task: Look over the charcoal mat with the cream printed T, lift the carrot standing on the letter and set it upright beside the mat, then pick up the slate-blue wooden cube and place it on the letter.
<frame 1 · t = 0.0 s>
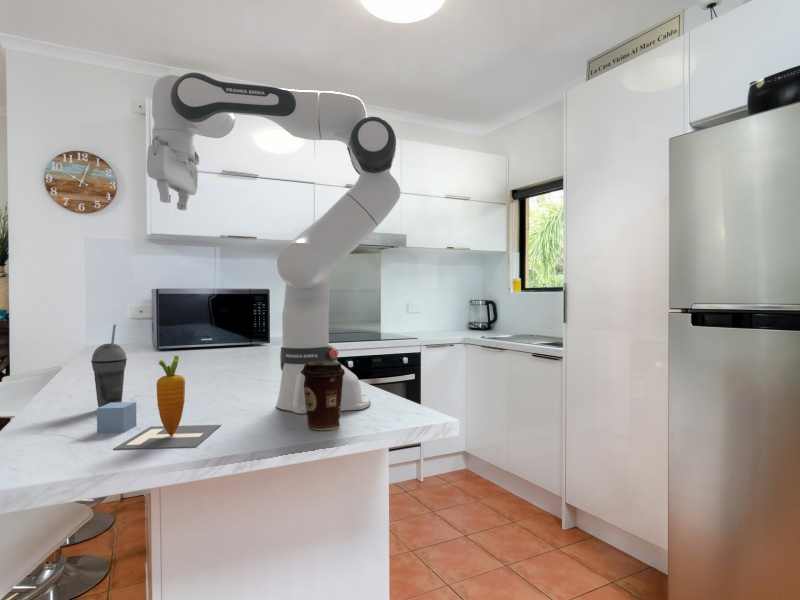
hand: (174, 206, 112), 48 cm above the table, tool pointing down, fingers open, 8 cm apart
letter mat: (171, 436, 89), on the table
coffee cup: (323, 427, 95), on the table
beverage cup: (109, 410, 111), on the table
slate cube: (117, 430, 94), on the table
carrot: (171, 436, 89), resting on letter mat
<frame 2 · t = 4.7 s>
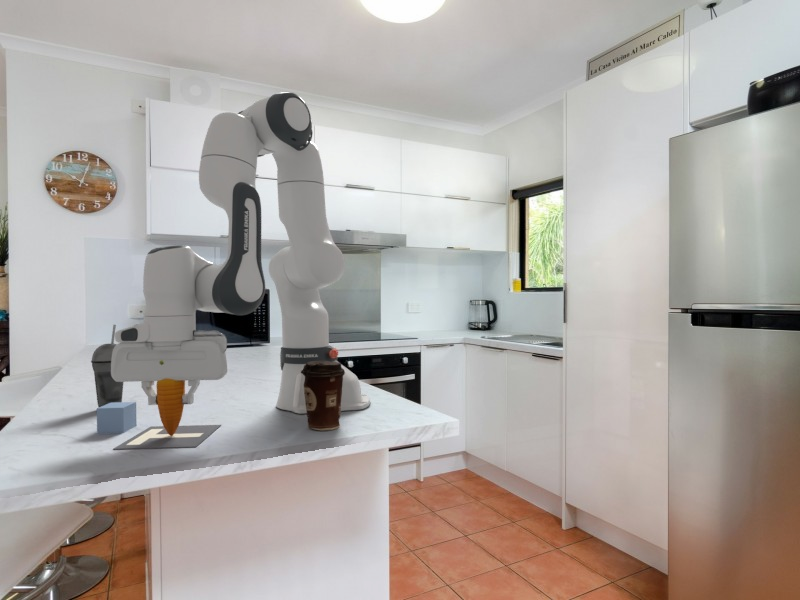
hand: (171, 404, 89), 6 cm above the table, tool pointing down, fingers closed on carrot, 5 cm apart
carrot: (171, 436, 89), resting on letter mat, touching gripper
everything else where it was.
when the fingers open (8 cm above the table, at t = 11.3 s): carrot drops 1 cm, on the table.
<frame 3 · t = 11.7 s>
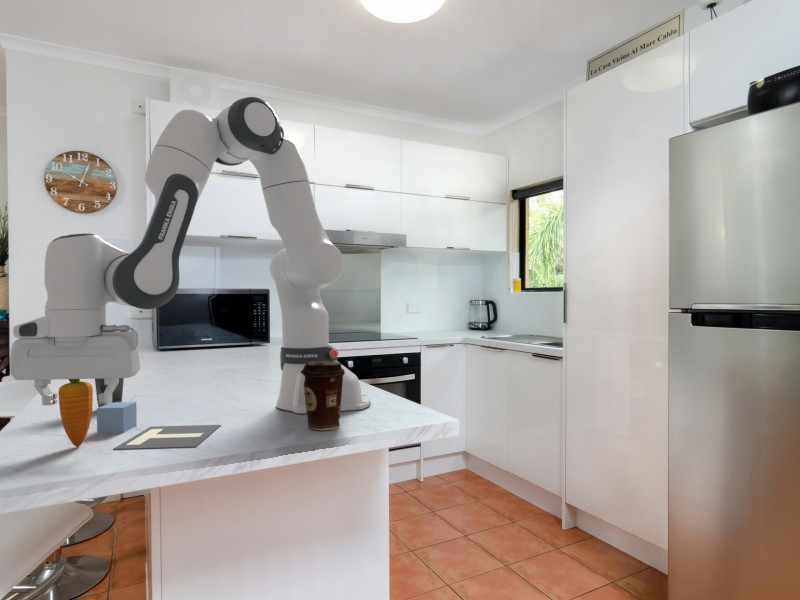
hand: (77, 404, 83), 8 cm above the table, tool pointing down, fingers open, 8 cm apart
carrot: (77, 448, 83), on the table
everything else where it was.
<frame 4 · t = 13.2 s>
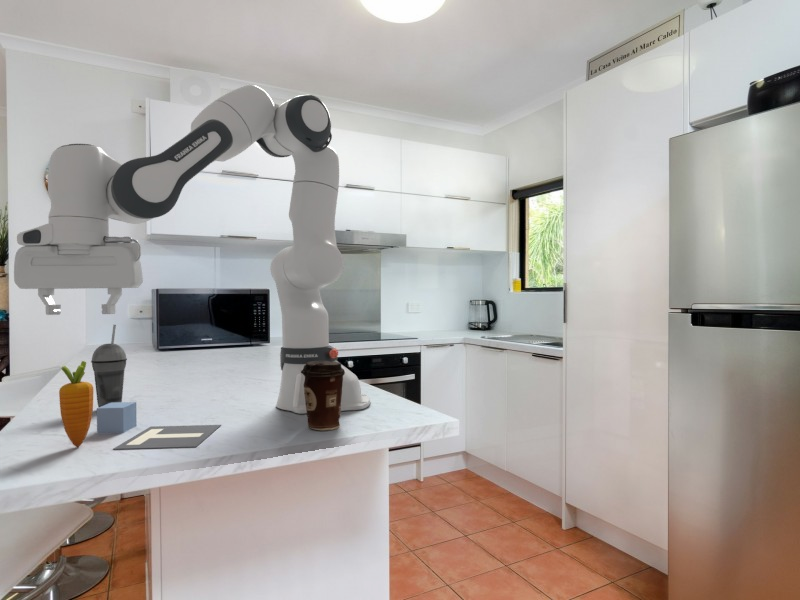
hand: (81, 314, 84), 23 cm above the table, tool pointing down, fingers open, 8 cm apart
nothing on the table moved.
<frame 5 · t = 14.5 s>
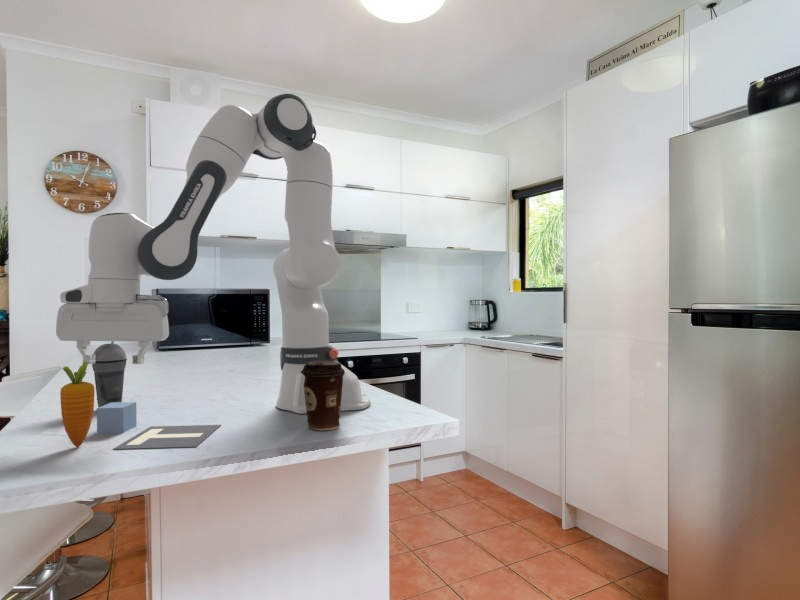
hand: (113, 363, 94), 13 cm above the table, tool pointing down, fingers open, 8 cm apart
nothing on the table moved.
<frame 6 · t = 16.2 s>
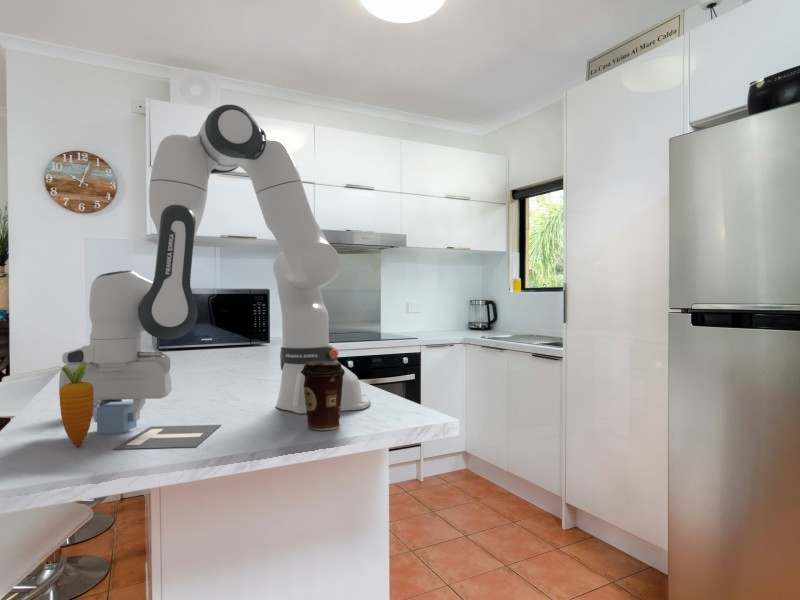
hand: (117, 421, 94), 2 cm above the table, tool pointing down, fingers closed on slate cube, 5 cm apart
slate cube: (117, 429, 94), on the table, touching gripper
everything else where it was.
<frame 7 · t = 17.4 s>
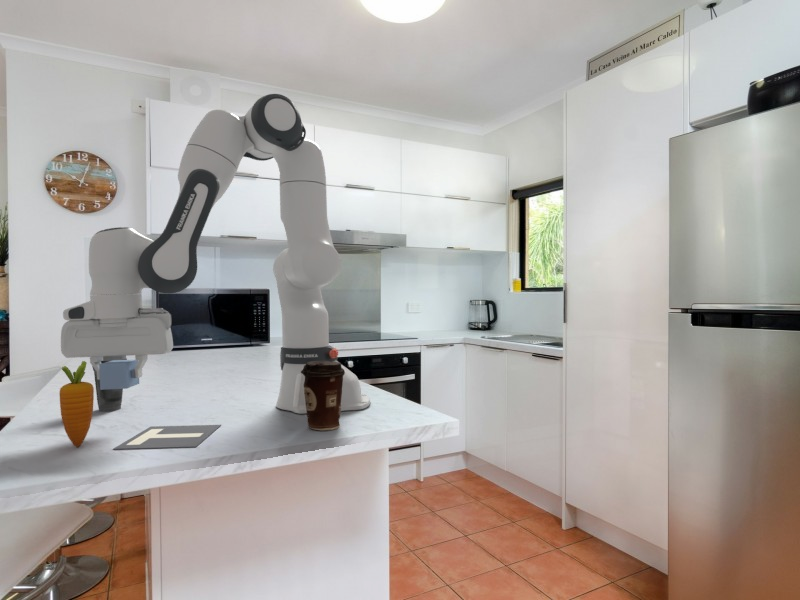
hand: (120, 378, 94), 10 cm above the table, tool pointing down, fingers closed on slate cube, 5 cm apart
slate cube: (120, 386, 94), point 9 cm above the table, touching gripper
everything else where it was.
when the fingers open (3 cm above the table, at t = 21.8 s): slate cube drops 2 cm, resting on letter mat.
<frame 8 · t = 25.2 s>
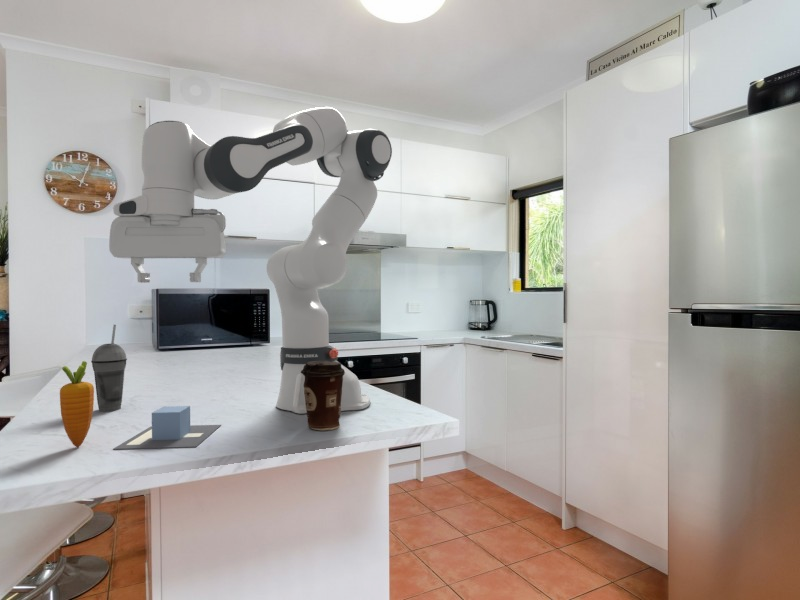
hand: (169, 282, 89), 29 cm above the table, tool pointing down, fingers open, 8 cm apart
slate cube: (171, 435, 89), resting on letter mat
everything else where it was.
at the end: slate cube 0.0 cm off-centre on the letter mat, point 0.2 cm above the letter mat's base; carrot moved 14.9 cm from its start; the gripper is holding nothing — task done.
